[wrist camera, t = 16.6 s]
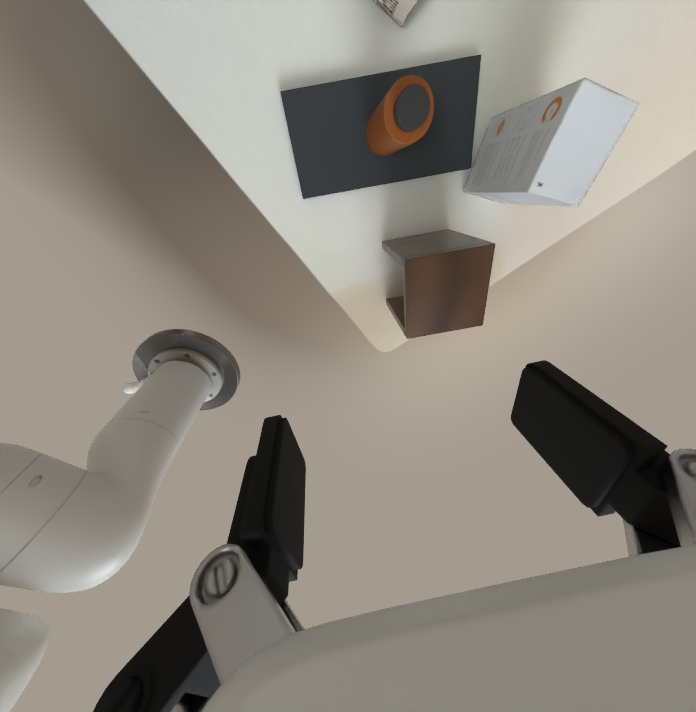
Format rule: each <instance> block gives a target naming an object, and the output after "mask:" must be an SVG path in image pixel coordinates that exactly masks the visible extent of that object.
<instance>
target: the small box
mask: <svg viewBox="0 0 696 712" xmlns="http://www.w3.org/2000/svg"><path fill="white" fill-rule="evenodd" d="M638 106H639V103H638V102H636V101H634V100H631V99H629V98H627V97H625V96H623V95H621V94H618V93H616V92H614V91H612V90H610V89H608V88H606V87H603V86H601V85H599V84H597V83H595V82H593V81H591V80H589V79H587V78H583V79H581V80H579V81H576V82H574V83H572V84H569V85H567V86H565V87H563V88H560V89H558V90H555V91H553V92H551V93H548V94H546V95H543V96H541V97H539V98H536V99H534V100H532V101H530V102H527V103H525V104H522V105H520V106H518V107H515V108H513V109H510V110H508V111H506V112H503V113H501V114H499V115H497V116H494V117H492V118H491V121H490V124H489V126H488V129H487V131H486V134H485V137H484V139H483V142H482V144H481V147H480V150H479V152H478V155H477V158H476V160H475V163H474V165H473V168H472V171H471V174H470V176H469V179H468V181H467V184H466V187H465V190H464V192H466V193H469V194H473V195H476V196H480V197H483V198H486V199H490V200H493V201H496V202H500V203H510V204H525V205H546V206H568V207H578V206H579V205H580V204H581V202H582V200H583V198H584V197H585V195H586V193H587V192H588V190H589V188H590V186H591V185H592V183H593V181H594V180H595V178H596V176H597V175H598V173H599V171H600V170H601V168H602V166H603V165H604V163H605V161H606V159H607V158H608V156H609V154H610V153H611V151H612V149H613V148H614V146H615V144H616V142H617V141H618V139H619V137H620V136H621V134H622V132H623V131H624V129H625V127H626V126H627V124H628V122H629V121H630V119H631V117H632V116H633V114H634V112H635V111H636V109H637V107H638Z"/></svg>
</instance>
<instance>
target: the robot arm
mask: <svg viewBox="0 0 696 712" xmlns="http://www.w3.org/2000/svg"><path fill="white" fill-rule="evenodd" d="M221 386H222V375H221V372H220V370H219V369H218V367H217V366H216V365H215V364H214V363H213V362H212V361H211V360H210V359H209V358H207V357H206V356H204V355H202V354H200V353H198V352H195V351H192V350H188V349H181V348H174V349H168V350H164V351H162V352H160V353H158V354H157V355H156V356H155V357H154V358H153V359H152V360H151V361H150V364H149V366H148V377H147V378H146V379H142V380H141V381H140V382H134V383H128V384H125V385H124V387H123V390H124V392H125V393H126V394H131V393H135V394H134V395H133V396H132V397H131V398H130V399H129V400H128V401H127V402H126V404H125V405H124V406H123V407H122V408H121V409H120V410H119V411H118V412H117V414H116V415H115V416H114V417H113V418H112V419H111V420H110V421H109V423H107V425H105V426H104V428H103V429H102V430H101V431H100V432H99V433H98V434H97V436H96V437H95V439H94V440H93V442H92V444H91V447H90V449H89V452H88V458H87V470H83V469H81V468H78V467H76V466H73V465H71V464H68V463H66V462H63V461H60V460H57V459H55V458H52V457H50V456H48V455H45V454H41V453H39V452H36V451H34V450H31V449H28V448H25V447H22V446H18V445H13V444H4V443H0V585H4V586H10V587H17V588H23V589H28V590H34V591H40V592H50V593H69V592H77V591H82V590H86V589H89V588H92V587H94V586H96V585H98V584H100V583H102V582H104V581H106V580H107V579H108V578H110V577H111V576H112V575H114V574H115V573H116V572H117V571H118V570H119V569H120V568H121V567H122V566H123V565H124V564H125V562H126V561H127V560H128V558H129V557H130V556H131V554H132V553H133V551H134V550H135V548H136V546H137V544H138V542H139V540H140V538H141V536H142V534H143V531H144V529H145V526H146V524H147V520H148V517H149V514H150V511H151V508H152V505H153V502H154V499H155V496H156V494H157V491H158V489H159V486H160V484H161V482H162V480H163V478H164V475H165V473H166V471H167V469H168V468H169V466H170V464H171V462H172V460H173V458H174V456H175V454H176V452H177V450H178V449H179V447H180V445H181V443H182V441H183V439H184V437H185V436H186V434H187V432H188V430H189V428H190V427H191V425H192V423H193V421H194V419H195V417H196V415H197V414H198V412H199V410H200V408H201V406H202V404H203V403H204V402H206V401H209V400H211V399H212V398H214V397H215V396H216V395H217V394H218V393H219V391H220V389H221ZM511 420H512V422H513V424H514V426H515V427H516V428H517V429H518V430H519V431H520V433H521V434H522V435H523V436H524V437H525V438H526V440H527V441H528V442H529V443H530V444H531V445H532V446H533V448H534V449H535V450H536V451H537V452H538V453H539V454H540V455H541V457H542V458H543V459H544V460H545V461H546V463H547V464H548V465H549V466H550V467H551V468H552V469H553V471H554V472H555V473H556V474H557V475H558V476H559V477H560V479H561V480H562V481H563V482H564V483H565V484H566V485H567V487H568V488H569V489H570V490H571V491H572V492H573V493H574V495H575V496H576V497H577V498H578V499H579V500H580V502H581V503H583V504H584V505H585V506H586V507H589V508H591V509H592V510H593V511H594V513H595V514H596V515H597V516H603V515H608V514H612V513H614V512H615V511H616V512H617V513H618V514H619V515H620V516H621V517H622V518H623V522H624V528H625V534H626V541H627V547H628V553H629V557H627V558H622V559H617V560H612V561H607V562H603V563H597V564H593V565H588V566H584V567H578V568H573V569H568V570H564V571H559V572H554V573H550V574H545V575H541V576H535V577H531V578H526V579H521V580H516V581H512V582H507V583H503V584H498V585H493V586H488V587H484V588H479V589H474V590H470V591H465V592H460V593H456V594H451V595H446V596H442V597H437V598H432V599H428V600H423V601H419V602H414V603H410V604H405V605H401V606H396V607H391V608H387V609H382V610H378V611H373V612H369V613H365V614H361V615H357V616H353V617H349V618H344V619H340V620H336V621H332V622H328V623H324V624H322V625H318V626H315V627H311V628H308V629H304V627H303V626H302V624H301V622H300V621H299V619H298V618H297V616H296V615H295V613H294V612H293V610H292V609H291V607H290V605H289V604H288V602H287V601H286V597H287V596H288V586H289V585H288V584H289V582H290V581H295V580H297V573H298V569H301V568H302V566H303V545H304V510H305V473H306V467H305V460H304V458H303V456H302V453H301V451H300V448H299V446H298V444H297V441H296V439H295V437H294V434H293V432H292V429H291V427H290V425H289V422H288V420H287V418H282V417H281V415H278V416H273V417H268V418H265V419H264V423H263V427H262V432H261V437H260V441H259V445H258V450H257V455H256V456H252V457H250V458H249V459H248V462H247V465H246V469H245V473H244V477H243V481H242V485H241V489H240V493H239V497H238V501H237V505H236V509H235V513H234V517H233V521H232V525H231V529H230V533H229V537H228V542H227V544H225V545H222V546H220V547H218V548H216V549H215V550H213V551H212V552H211V553H210V554H208V555H207V557H206V558H205V559H204V560H203V561H202V562H201V564H200V565H199V567H198V569H197V570H196V572H195V574H194V577H193V579H192V582H191V586H190V593H189V594H190V595H189V596H188V598H187V599H186V600H185V601H184V602H183V603H182V604H181V605H180V606H179V607H178V609H177V610H176V611H175V612H174V613H173V614H172V615H171V616H170V617H169V618H168V619H167V621H166V622H165V623H164V624H163V625H162V626H161V627H160V628H159V629H158V630H157V632H156V633H155V634H154V635H153V636H152V637H151V638H150V639H149V641H148V642H146V644H145V645H144V646H143V647H142V648H141V649H140V650H139V651H138V652H137V653H136V655H135V656H134V657H133V658H132V659H131V660H130V661H129V662H128V663H127V664H126V666H124V668H123V669H122V670H121V671H120V672H119V673H118V674H117V675H116V677H115V678H114V679H113V680H112V682H111V683H110V684H109V685H108V687H107V688H106V689H105V691H104V693H103V695H102V696H101V698H100V699H99V701H98V703H97V704H96V707H95V709H94V711H93V712H696V450H693V449H679V450H675V451H673V452H672V453H671V455H670V454H669V453H667V452H666V451H665V448H666V447H667V445H665V444H664V443H663V442H661V441H660V440H658V439H657V438H655V437H654V436H653V435H651V434H650V433H648V432H647V431H646V430H644V429H643V428H641V427H640V426H638V425H637V424H636V423H634V422H633V421H631V420H630V419H629V418H627V417H626V416H624V415H623V414H622V413H620V412H619V411H617V410H616V409H614V408H613V407H612V406H610V405H609V404H607V403H606V402H605V401H603V400H602V399H600V398H599V397H597V396H596V395H595V394H593V393H592V392H590V391H589V390H588V389H586V388H585V387H583V386H582V385H581V384H579V383H578V382H576V381H575V380H573V379H572V378H571V377H569V376H568V375H567V374H565V373H563V372H562V371H561V370H559V369H558V368H557V367H555V366H554V365H552V364H551V363H550V362H548V361H539V362H534V363H529V364H527V365H526V367H525V368H524V369H523V371H522V374H521V378H520V382H519V386H518V390H517V394H516V398H515V402H514V406H513V410H512V414H511ZM49 637H50V630H49V626H48V624H47V623H46V622H45V621H44V620H43V619H40V618H39V617H37V616H35V615H31V614H27V613H23V612H17V611H13V610H6V609H0V712H10V711H11V709H12V708H13V706H14V705H15V703H16V701H17V700H18V698H19V697H20V695H21V693H22V692H23V690H24V689H25V687H26V685H27V684H28V682H29V681H30V679H31V677H32V675H33V674H34V672H35V670H36V668H37V667H38V665H39V663H40V661H41V659H42V657H43V655H44V653H45V651H46V648H47V645H48V642H49Z"/></svg>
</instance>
